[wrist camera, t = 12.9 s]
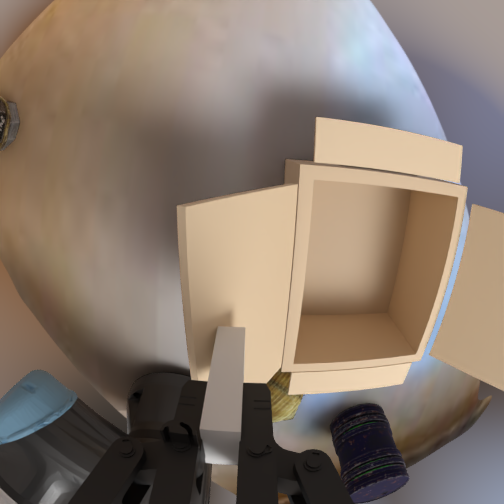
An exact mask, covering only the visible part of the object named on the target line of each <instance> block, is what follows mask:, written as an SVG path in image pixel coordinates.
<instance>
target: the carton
mask: <svg viewBox="0 0 504 504" xmlns="http://www.w3.org/2000/svg"><path fill="white" fill-rule="evenodd" d="M461 161H462V146H461V145H458V144H454V143H450V142H447V141H444V140H440V139H436V138H432V137H428V136H424V135H420V134H416V133H412V132H407V131H402V130H398V129H393V128H388V127H382V126H377V125H371V124H365V123H359V122H352V121H345V120H338V119H330V118H321V117H315V137H314V158H313V161H307V160H293V159H285V174H284V184H290V183H292V184H298V189H297V205H296V220H295V233H294V246H293V258H292V270H291V281H290V291H289V301H288V311H287V320H286V330H285V339H284V347H283V356H282V364H281V372H291V375H290V382H289V388H288V395H297V394H318V393H332V392H344V391H354V390H363V389H371V388H379V387H386V386H392V385H398V384H403V382H404V379H405V377H406V375H407V373H408V371H409V368H410V366H411V364H412V362H414V361H420V360H421V358H422V355H423V353H424V351H425V348H426V346H427V343H428V341H429V338H430V336H431V333H432V330H433V328H434V325H435V322H436V319H437V316H438V313H439V311H440V308H441V304H442V301H443V298H444V295H445V292H446V288H447V285H448V281H449V278H450V274H451V271H452V267H453V263H454V259H455V255H456V250H457V246H458V241H459V237H460V232H461V226H462V221H463V215H464V209H465V203H466V196H467V188H468V187H465V186H462V185H458V184H455V183H451V182H448V181H452V182H457V183H460V173H461ZM436 178H437V179H436ZM440 179H442V180H440ZM444 180H447V181H444Z"/></svg>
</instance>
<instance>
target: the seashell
mask: <svg viewBox="0 0 504 504" xmlns="http://www.w3.org/2000/svg"><path fill="white" fill-rule="evenodd" d="M290 375H291V372H281V368H280V369H279V370H278V371H277V372H276V373H275V374H274V376H273V377H272V378H271V379H270V380H269V381H268V382H267V383H266V385H267V386H268V388H269V390H270V391H271V406H272V422H273V423H274V422H279V421H281V420H290V419H293V418H294V416H295V413H296V411H297V409H298V405H299V404H300V402H301V400H302V397H303V394H297V395H288V388H289V382H290Z"/></svg>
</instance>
